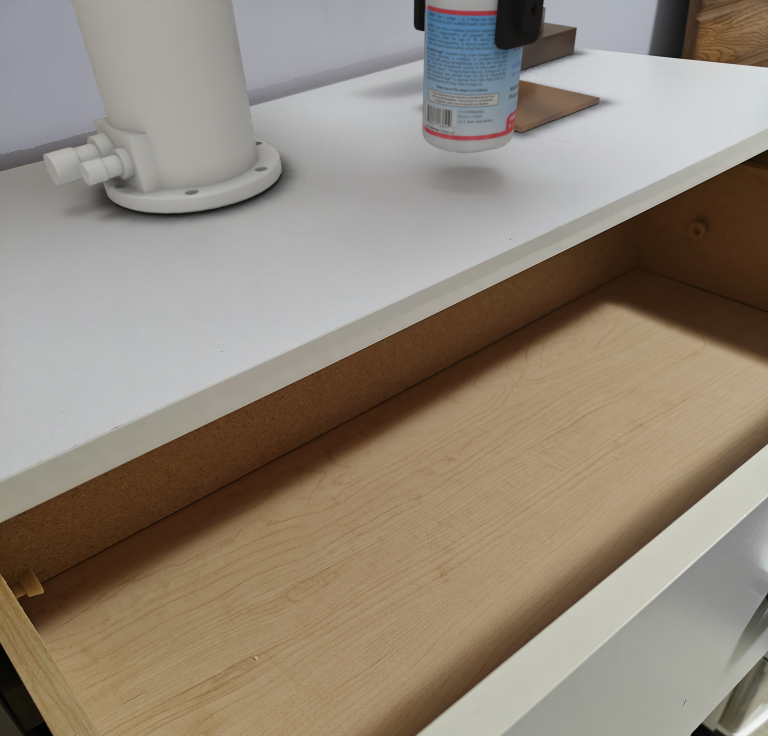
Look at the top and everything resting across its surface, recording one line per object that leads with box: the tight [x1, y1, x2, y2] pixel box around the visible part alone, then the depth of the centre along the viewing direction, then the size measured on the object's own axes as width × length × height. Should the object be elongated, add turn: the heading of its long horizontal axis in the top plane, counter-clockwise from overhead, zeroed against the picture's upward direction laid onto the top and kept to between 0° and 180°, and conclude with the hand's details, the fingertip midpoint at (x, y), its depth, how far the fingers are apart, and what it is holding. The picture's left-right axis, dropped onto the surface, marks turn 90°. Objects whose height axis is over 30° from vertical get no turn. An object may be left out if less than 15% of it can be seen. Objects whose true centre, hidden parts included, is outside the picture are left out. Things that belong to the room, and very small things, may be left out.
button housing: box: [520, 6, 578, 71], centre depth 68 cm, size 10×9×4 cm
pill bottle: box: [421, 0, 523, 154], centre depth 42 cm, size 6×6×11 cm
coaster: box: [514, 79, 601, 133], centre depth 58 cm, size 10×10×1 cm
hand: (474, 32), depth 41 cm, fingers closed on pill bottle, 6 cm apart
